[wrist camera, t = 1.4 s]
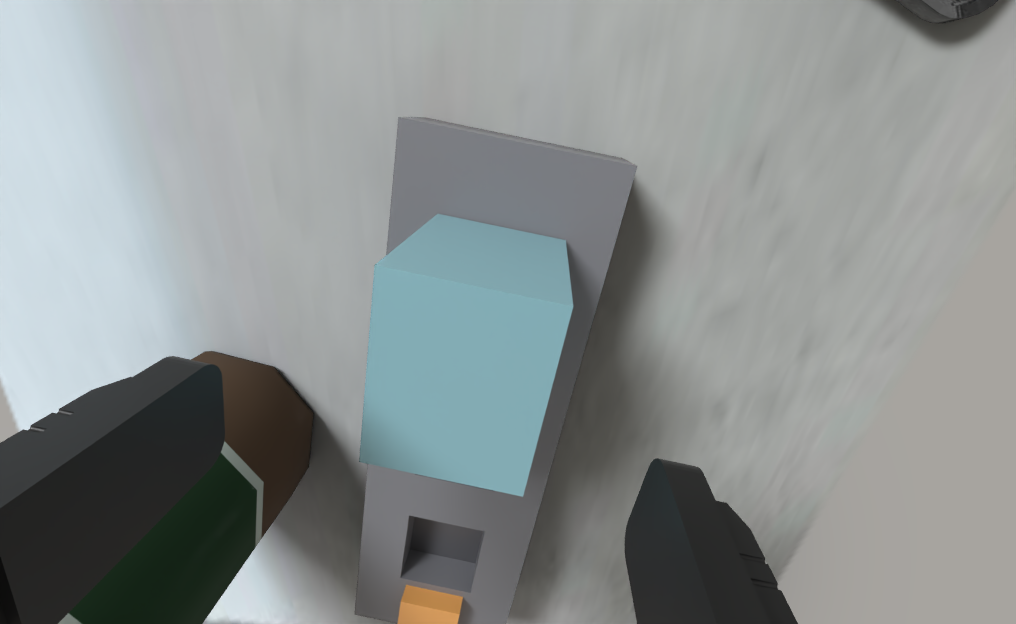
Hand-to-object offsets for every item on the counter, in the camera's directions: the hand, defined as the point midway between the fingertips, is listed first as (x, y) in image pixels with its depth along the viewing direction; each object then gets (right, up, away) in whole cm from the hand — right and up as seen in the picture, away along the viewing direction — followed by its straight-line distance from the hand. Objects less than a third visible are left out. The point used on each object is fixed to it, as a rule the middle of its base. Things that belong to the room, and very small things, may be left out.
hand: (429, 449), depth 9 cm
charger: (+1, +4, +8) cm, 9 cm away
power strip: (0, -1, +12) cm, 12 cm away
